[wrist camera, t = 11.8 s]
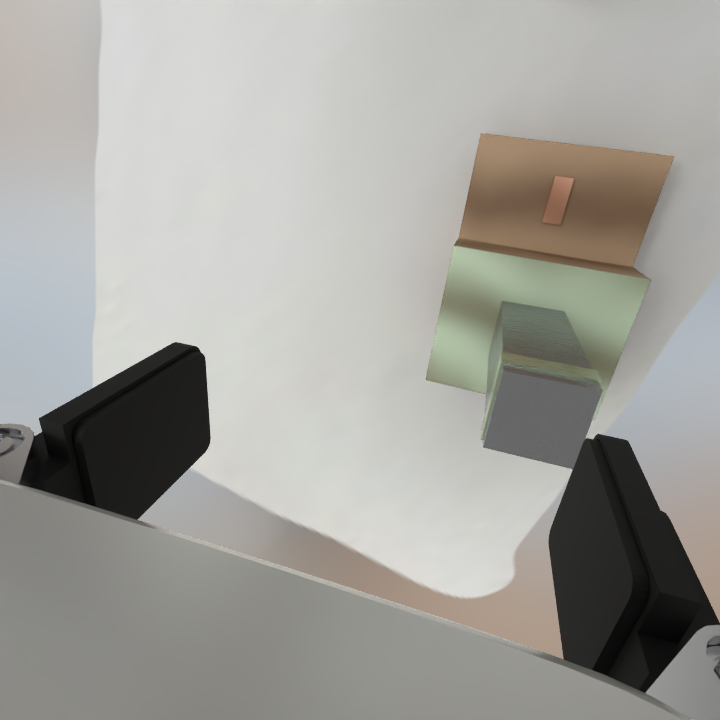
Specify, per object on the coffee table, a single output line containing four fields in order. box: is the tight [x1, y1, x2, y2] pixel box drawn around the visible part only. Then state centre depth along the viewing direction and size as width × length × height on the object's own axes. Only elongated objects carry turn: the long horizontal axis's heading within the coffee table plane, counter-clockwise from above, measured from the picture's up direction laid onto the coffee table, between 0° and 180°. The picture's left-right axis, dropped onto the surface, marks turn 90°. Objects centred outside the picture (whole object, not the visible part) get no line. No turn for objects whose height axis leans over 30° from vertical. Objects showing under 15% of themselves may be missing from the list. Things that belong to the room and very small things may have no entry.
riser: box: [426, 133, 674, 420], centre depth 32 cm, size 17×12×8 cm
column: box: [481, 301, 603, 469], centre depth 25 cm, size 4×4×12 cm
